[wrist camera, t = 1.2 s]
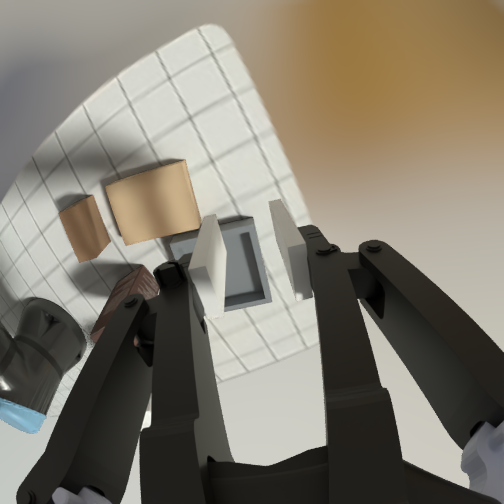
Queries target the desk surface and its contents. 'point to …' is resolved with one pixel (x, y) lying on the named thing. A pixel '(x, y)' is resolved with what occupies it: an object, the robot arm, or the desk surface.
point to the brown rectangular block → (85, 229)
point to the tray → (235, 263)
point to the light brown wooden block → (154, 203)
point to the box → (128, 285)
